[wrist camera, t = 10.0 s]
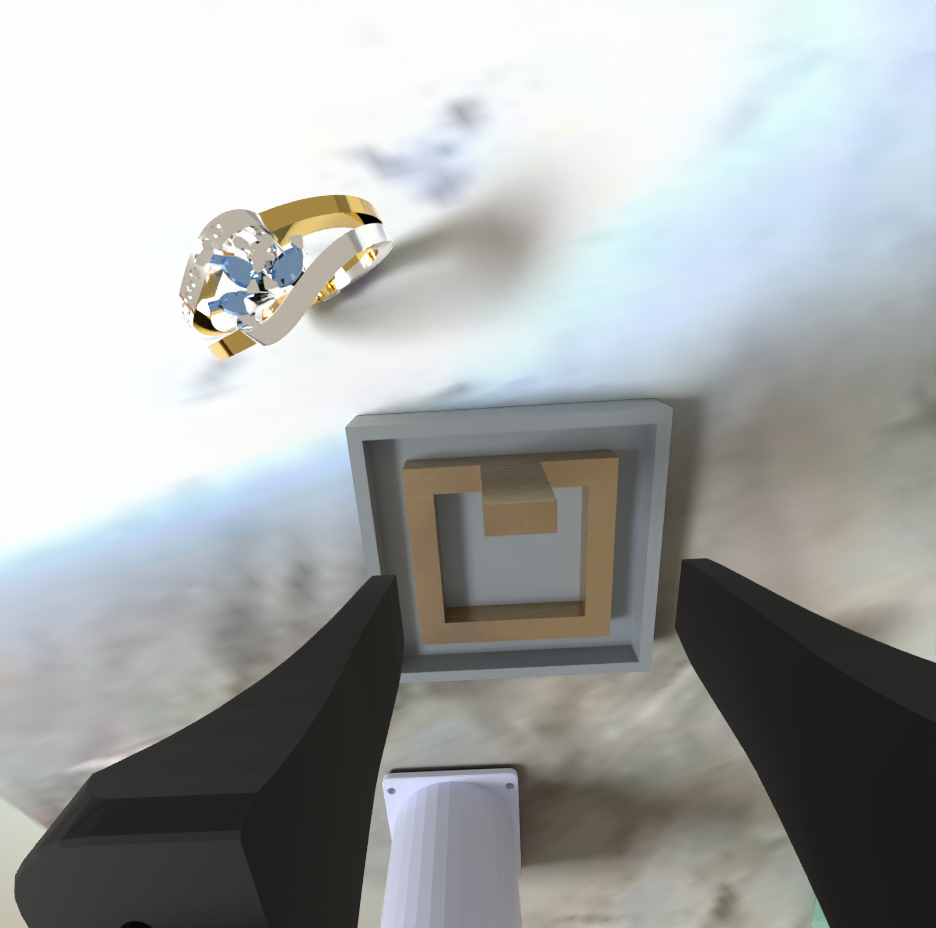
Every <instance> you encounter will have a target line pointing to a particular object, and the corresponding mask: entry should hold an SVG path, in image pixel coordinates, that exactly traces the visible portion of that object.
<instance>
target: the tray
mask: <svg viewBox="0 0 936 928" xmlns="http://www.w3.org/2000/svg"><path fill="white" fill-rule="evenodd" d="M672 419H673V408H672V407H670V406H668V405H666V404H665V403H663V402H661V401H659V400H657V399H655V398H651V399H634V400H617V401H600V402H583V403H566V404H549V405H532V406H515V407H498V408H481V409H464V410H447V411H429V412H412V413H395V414H378V415H361V416H356V417H355V418H354V419H353V420H352V421H351V422H350V423H349V424H348V425H347V426H346V427H345V429H346V436H347V442H348V449H349V455H350V462H351V469H352V475H353V482H354V489H355V495H356V502H357V508H358V515H359V522H360V528H361V535H362V542H363V548H364V555H365V561H366V568H367V575H368V580H369V579H370V578H371V576H375V575H395V574H396V578H397V586H398V594H399V602H400V610H401V617H402V625H403V633H404V650H403V660H402V669H401V677H400V682H399V683H414V682H435V681H456V680H478V679H499V678H520V677H541V676H562V675H583V674H604V673H625V672H647V671H651V661H652V650H653V638H654V627H655V615H656V604H657V592H658V581H659V569H660V558H661V546H662V535H663V523H664V512H665V500H666V489H667V477H668V466H669V454H670V443H671V431H672ZM599 449H611V450H612V451H613V452H614V453H615V454H616V455H617V456H618V457H619V461H618V481H617V501H616V521H615V541H614V561H613V581H612V601H611V621H610V636H600V637H579V638H558V639H538V640H517V641H496V642H475V643H455V644H434V645H422V641H421V632H420V623H419V615H418V606H417V597H416V588H415V579H414V570H413V561H412V552H411V543H410V534H409V525H408V516H407V507H406V498H405V489H404V481H403V472H402V469H403V466H404V464H405V461H406V460H420V459H438V458H456V457H474V456H492V455H510V454H528V453H546V452H564V451H581V450H599ZM552 490H553V492H554V494H555V497H556V499H557V533H547V534H528V535H509V536H490V537H485V536H484V522H483V508H482V493H481V492H470V493H451V494H436V499H437V511H438V522H439V533H440V545H441V556H442V567H443V579H444V590H445V601H446V607H464V606H484V605H505V604H525V603H545V602H565V601H579V595H580V553H581V510H582V486H580V487H562V488H552Z"/></svg>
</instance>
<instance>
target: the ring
mask: <svg viewBox="0 0 936 928" xmlns="http://www.w3.org/2000/svg"><path fill="white" fill-rule="evenodd" d="M338 227H347V228H354V229H353V230H351V231H349V232H348V233H346V234H344V235H343V236H341V237H340V238H338V239H337V240H336V241H335V242H333V243H332V244H331V245H330V246H329V247H328V248H326V249H325V250H324V251H323V252H322V253H321V254H320V255H319V256H318V257H317V258H316V259H315V261H314V262H313V263H312V264H311V265H310V266H309V267H308V268H307V270H306V271H305V266H306V261H305V259H308V249H307V246H306V244H305V242H304V239H303V237H302V236H305V235H307V234H310V233H313V232H317V231H320V230H324V229H330V228H338ZM250 238H253V239H256V240H257V242H254V243H252V244H249V243H248V242H247V241H246V239H250ZM289 242H290V243H291V245H292V247H293V248H290V249H288V250H286V251H284V250H283V248H282V246H284V245H286V244H287V243H289ZM235 248H238V249H239V250H240V251H242V252H243V253H244V254H246V255H247V258H248V259H246V258H243V257H238V256H234V253H233V251H234V250H235ZM392 248H393V242H392V239H391V237H390V235H389V233H388V231H387V229H386V227H385V226H384V224H383V222H382V220H381V218H380V216H379V214H378V212H377V210H376V209H375V207H374V206H373V205H372V204H371V203H369V202H368V201H366V200H364V199H361V198H358V197H354V196H347V195H328V196H319V197H312V198H307V199H302V200H298V201H294V202H291V203H287V204H284V205H281V206H278V207H275V208H272V209H269V210H267V211H264V212H261V213H259V214H256V213H254V212H252V211H248V210H242V209H238V210H231V211H227V212H225V213H223V214H221V215H219V216H217V217H216V218H214V219H213V220H212V221H211V222H210V223H209V224H208V225H207V226H206V227H205V228H204V229H203V231H202V232H201V234H200V235H199V237H198V239H197V241H196V243H195V245H194V247H193V249H192V252H191V255H190V257H189V260H188V263H187V266H186V270H185V273H184V277H183V280H182V284H181V288H180V293H179V310H180V313H181V315H182V316H183V318H184V319H185V320H186V322H187V323H188V325H189V326H190V327H191V329H192V330H193V332H194V333H195V334H196V336H198V337H199V338H201V339H206V340H209V339H217V338H221V337H224V338H223V339H221V340H219V341H218V342H216V343H214V344H213V345H211V346H209V347H208V348H209V350H210V351H211V352H212V354H213V355H214V356H215V358H216V359H217V360H218V361H221V360H224V359H226V358H228V357H231V356H233V355H235V354H237V353H239V352H241V351H243V350H245V349H247V348H249V347H251V346H253V345H255V344H256V343H257V344H259V345H262V346H267V345H271V344H274V343H276V342H277V341H279V340H280V339H282V338H283V337H284V336H285V335H287V334H288V333H289V332H290V331H291V330H292V328H293V327H294V326H295V325H296V324H297V323H298V321H299V320H300V319H301V317H302V316H303V315H304V313H305V312H306V311H307V309H309V308H311V307H312V306H314V305H316V304H318V303H320V302H321V301H327V300H329V299H331V298H332V297H334V296H336V295H338V294H339V293H341V290H343V289H344V288H346V287H347V286H349V285H350V284H352V283H353V282H355V281H356V280H358V279H359V278H361V277H362V276H363V275H365V274H366V273H367V272H369V271H370V270H371V269H373V268H374V267H375V266H376V265H377V264H379V263H380V262H381V261H382V260H383V259H384V258H385V257H386V256H387V255H388V254H389V252H390V251H391V249H392ZM223 271H224V273H225V274H226V275H227V276H228V278H229V279H230V280H231V281H233V282H234V283H235V284H237V285H239V286H241V287H243V288H240V289H236V290H232V291H230V292H228V293H226V294H223V295H219V296H215V293H216V289H217V286H218V283H219V281H220V278H221V275H222V273H223ZM292 287H293V288H292ZM290 288H292V289H291V291H290V292H289V293H288V294H287V295H285V296H283V297H281V298H279V299H277V300H276V298H275V297H273V296H272V295H274V296H279V295H283V294H285V293H286V291H285V290H288V289H290ZM269 293H271V294H272V295H271V294H269ZM214 296H215V297H214ZM224 311H225V312H227V313H229V314H232V315H237V316H233V317H229V318H212V317H211V315H214V314H217V313H221V312H224ZM225 336H226V337H225Z"/></svg>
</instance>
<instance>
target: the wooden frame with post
mask: <svg viewBox="0 0 936 928" xmlns="http://www.w3.org/2000/svg"><path fill="white" fill-rule="evenodd" d="M618 461H619V457H618V456H617V455H616V454H615V453H614V452H613V451H612V450H611V449H599V450H581V451H564V452H546V453H528V454H510V455H492V456H474V457H456V458H438V459H420V460H406V461H405V464H404V466H403V469H402V472H403V481H404V489H405V498H406V507H407V516H408V525H409V534H410V543H411V552H412V561H413V570H414V579H415V588H416V597H417V606H418V615H419V623H420V632H421V641H422V645H434V644H455V643H475V642H496V641H517V640H538V639H558V638H579V637H600V636H610V621H611V601H612V581H613V561H614V541H615V521H616V501H617V481H618ZM580 486H582V510H581V553H580V595H579V601H565V602H545V603H525V604H505V605H484V606H464V607H446V601H445V590H444V579H443V567H442V556H441V545H440V533H439V522H438V511H437V499H436V494H451V493H470V492H481V493H482V508H483V522H484V536H485V537H490V536H509V535H528V534H547V533H557V499H556V497H555V494H554V492H553V490H552V488H562V487H580Z"/></svg>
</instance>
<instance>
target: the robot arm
mask: <svg viewBox="0 0 936 928" xmlns="http://www.w3.org/2000/svg"><path fill="white" fill-rule="evenodd" d="M675 629H676V631H677V634H678V636H679V638H680V641H681V643H682V645H683V648H684V650H685V652H686V654H687V656H688V658H689V660H690V663H691V665H692V666H693V668H694V670H695V671H696V673H697V675H698V676H699V678H700V680H701V681H702V683H703V685H704V686H705V688H706V690H707V691H708V693H709V694H710V696H711V698H712V699H713V701H714V702H715V704H716V706H717V707H718V709H719V710H720V712H721V714H722V715H723V717H724V719H725V720H726V722H727V723H728V725H729V727H730V728H731V730H732V731H733V733H734V735H735V736H736V738H737V739H738V741H739V743H740V744H741V746H742V747H743V749H744V751H745V752H746V754H747V756H748V758H749V759H750V761H751V763H752V765H753V766H754V768H755V770H756V772H757V774H758V776H759V778H760V780H761V782H762V784H763V786H764V788H765V790H766V792H767V794H768V796H769V798H770V800H771V802H772V804H773V806H774V808H775V810H776V812H777V814H778V816H779V818H780V820H781V822H782V824H783V826H784V828H785V830H786V832H787V835H788V837H789V839H790V841H791V843H792V845H793V847H794V849H795V852H796V854H797V856H798V858H799V860H800V862H801V864H802V866H803V869H804V871H805V873H806V875H807V877H808V880H809V882H810V884H811V886H812V889H813V891H814V893H815V895H816V898H817V900H818V902H819V904H820V907H821V909H822V911H823V914H824V916H825V918H826V920H827V923H828V925H829V927H830V928H936V663H935V662H932V661H929V660H926V659H923V658H920V657H918V656H915V655H912V654H910V653H907V652H904V651H901V650H899V649H896V648H894V647H891V646H889V645H886V644H884V643H881V642H879V641H876V640H874V639H872V638H869V637H867V636H864V635H862V634H859V633H857V632H855V631H852V630H850V629H848V628H845V627H843V626H841V625H839V624H837V623H835V622H832V621H830V620H828V619H826V618H824V617H822V616H820V615H818V614H815V613H813V612H811V611H809V610H807V609H805V608H803V607H801V606H799V605H797V604H795V603H793V602H791V601H789V600H787V599H785V598H783V597H781V596H780V595H778V594H776V593H774V592H772V591H770V590H768V589H766V588H764V587H762V586H761V585H759V584H757V583H755V582H753V581H751V580H749V579H747V578H746V577H744V576H742V575H740V574H738V573H736V572H734V571H732V570H730V569H728V568H726V567H725V566H723V565H720V564H718V563H716V562H714V561H712V560H709V559H707V558H702V559H683V560H682V564H681V574H680V583H679V593H678V602H677V612H676V622H675ZM403 650H404V633H403V625H402V617H401V610H400V602H399V594H398V586H397V578H396V574H395V575H375V576H371V578H370V579H369V580H368V581H367V582H366V583H365V584H364V585H363V586H362V587H361V588H360V589H359V590H358V591H357V592H356V593H355V594H354V596H353V597H352V598H351V599H350V600H349V601H348V602H347V603H346V604H345V605H344V606H343V607H342V608H341V609H340V611H339V612H338V613H337V614H336V615H335V616H334V617H333V618H332V619H331V620H330V621H329V622H328V623H327V624H326V625H325V626H324V627H323V628H322V629H321V630H319V631H318V632H317V633H316V634H315V635H314V636H313V637H312V638H311V639H310V640H309V641H308V642H307V643H305V644H304V645H303V646H302V647H301V648H300V649H299V650H298V651H297V652H295V653H294V654H293V655H292V656H291V657H289V658H288V659H287V660H286V661H285V662H283V663H282V664H281V665H279V666H278V667H277V668H275V669H274V670H273V671H272V672H270V673H269V674H268V675H266V676H265V677H264V678H262V679H261V680H260V681H258V682H257V683H255V684H254V685H252V686H251V687H249V688H248V689H246V690H245V691H243V692H242V693H240V694H239V695H237V696H236V697H234V698H233V699H231V700H230V701H228V702H227V703H225V704H224V705H222V706H221V707H219V708H218V709H216V710H214V711H213V712H211V713H209V714H208V715H206V716H204V717H203V718H201V719H199V720H198V721H196V722H194V723H192V724H191V725H189V726H187V727H185V728H184V729H182V730H180V731H178V732H176V733H175V734H173V735H171V736H169V737H167V738H165V739H163V740H162V741H160V742H158V743H156V744H154V745H152V746H150V747H148V748H146V749H144V750H142V751H140V752H137V753H135V754H133V755H131V756H129V757H127V758H125V759H123V760H121V761H119V762H117V763H115V764H113V765H111V766H109V767H107V768H105V769H102V770H100V771H98V772H96V773H94V774H92V775H91V776H90V778H89V779H88V780H87V781H86V782H85V784H84V785H83V786H82V787H81V789H80V790H79V791H78V792H77V794H76V795H75V796H74V797H73V799H72V800H71V801H70V802H69V804H68V805H67V806H66V807H65V809H64V810H63V811H62V812H61V814H60V815H59V816H58V818H57V819H56V820H55V821H54V823H53V824H52V825H51V826H50V828H49V829H48V830H47V831H46V833H45V834H44V836H42V838H41V839H40V840H39V842H38V843H37V844H36V845H35V846H34V848H33V849H32V850H31V851H30V853H29V854H28V855H27V857H26V858H25V859H24V860H23V862H22V864H21V866H20V867H19V869H18V871H17V873H16V875H15V888H14V893H15V900H16V903H17V905H18V908H19V910H20V913H21V915H22V917H23V919H24V920H25V922H26V924H27V925H28V927H29V928H357V926H358V918H359V909H360V901H361V892H362V884H363V876H364V868H365V861H366V853H367V845H368V837H369V830H370V823H371V816H372V809H373V802H374V795H375V788H376V783H377V778H378V772H379V767H380V763H381V759H382V755H383V750H384V746H385V742H386V738H387V734H388V729H389V725H390V721H391V717H392V713H393V708H394V704H395V700H396V695H397V691H398V687H399V682H400V677H401V669H402V660H403ZM382 785H383V791H384V797H385V803H386V809H387V815H388V821H389V827H390V833H391V839H392V847H391V854H390V861H389V868H388V875H387V882H386V890H385V897H384V904H383V911H382V918H381V925H380V928H522V920H521V909H520V897H519V885H518V878H519V877H520V876H521V853H520V823H519V794H518V774H517V771H516V770H514V769H512V768H498V769H475V770H452V771H429V772H406V773H389V774H387V775H385V776H384V778H383V784H382Z"/></svg>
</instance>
